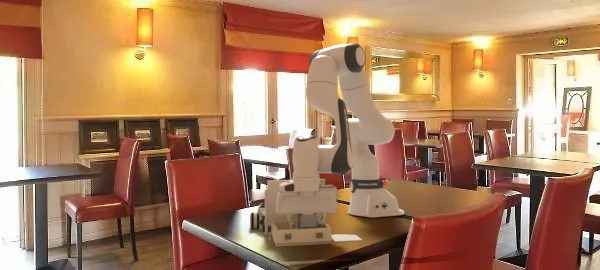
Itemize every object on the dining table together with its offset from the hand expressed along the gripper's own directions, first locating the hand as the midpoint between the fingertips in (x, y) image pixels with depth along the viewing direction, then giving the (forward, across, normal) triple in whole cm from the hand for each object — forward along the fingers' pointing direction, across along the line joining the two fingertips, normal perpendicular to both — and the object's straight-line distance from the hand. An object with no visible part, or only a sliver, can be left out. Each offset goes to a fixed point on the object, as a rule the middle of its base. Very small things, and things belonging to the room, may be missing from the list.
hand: (306, 227), depth 150 cm
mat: (+4, -13, -1) cm, 14 cm away
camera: (+5, +13, -20) cm, 25 cm away
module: (+4, 0, 0) cm, 4 cm away
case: (+4, +2, -2) cm, 5 cm away
